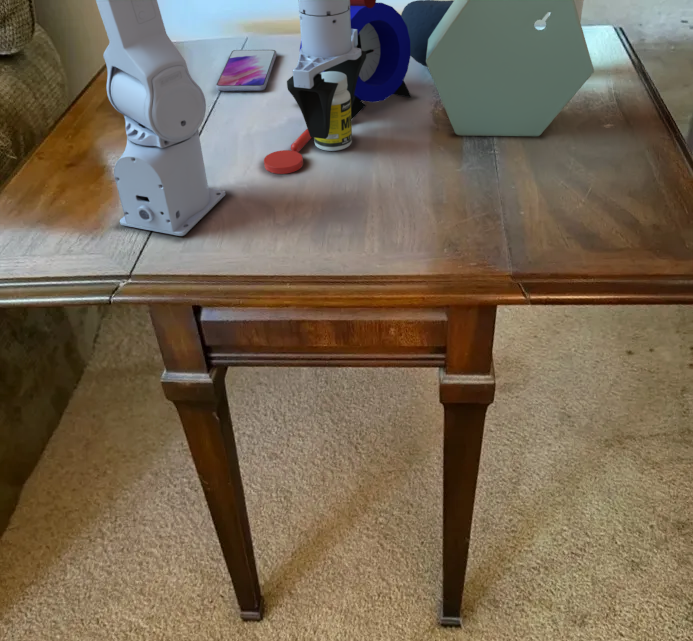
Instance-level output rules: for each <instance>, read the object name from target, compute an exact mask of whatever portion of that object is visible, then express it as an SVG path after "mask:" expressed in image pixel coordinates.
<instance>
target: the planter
mask: <svg viewBox="0 0 693 641" xmlns="http://www.w3.org/2000/svg"><path fill="white" fill-rule="evenodd" d="M453 1H454V2H453V3H452V5H451V6H450V8H449V9H448V11H447V12H446V13H445V15H444V16H443V18H442V19H441V21H440V22H439V24H438V25H437V27H436V28H435V30H434V31H433V33H432V34H431V36H430V37H429V39H428V45H427V54H426V64H427V66H428V67H427V68H428V71H429V74H430V76H431V78H432V81H433V83H434V86H435V88H436V92H437V93H438V95H439V98H440V101H441V102H442V105H443V107H444V110H445V112H446V115H447V117H448V119H449V120H448V121H449V122H450V124H451V127H452V129H453V132H454V134H455V135H457V136H472V137H475V136H477V137H478V136H479V137H540V136H541V135H542V134H543V132H545V130H546V129H547V128H548V127H549V126H550V124H552V122H553V121H554V120H555V119H556V117H557V116H558V115H559V114H560V113H561V112H562V110H563V109H564V108H565V107H566V106H567V105H568V103H569V102H570V101H571V100H572V98H574V96H575V95H576V94H577V93H578V92H579V91H580V89H581V88H582V87H583V86H584V85H585V83H586V82H587V81H588V80H589V79H590V77H591V76H593V74H594V72H595V68H594V65H593V62H592V57H591V54H590V52H589V48H588V44H587V40H586V37H585V34H584V30H583V27H582V23H581V22H580V19H579V16H578V12H577V9H576V5H575V2H574V0H453ZM549 12H551V14H550V15H549ZM547 14H548V16H547ZM546 16H547V18H546V19H545V27H544V28H542V29H538V28H536V26H535V24H536V22H537V21H542V20H543V19H544V18H545V17H546Z"/></svg>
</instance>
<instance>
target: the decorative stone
mask: <svg viewBox="0 0 693 641" xmlns="http://www.w3.org/2000/svg"><path fill="white" fill-rule="evenodd" d="M453 2H454V0H412V1H411V2H408V3H407V4H406V5H405V6H404V8H403V9H402V11H401V14H400V15H401V16H402V18H403V20H404V22H405V24H406V26H407V29H408V33H409V38H410V58H412V59H413V60H414V61H415V62H416V63H418V64H420V65H421V66H424V67H426V68H428V66H427V64H426V54H427V45H428V39H429V37H430V36H431V34H432V33H433V31H434V30H435V28H436V27H437V25H438V24H439V22H440V21H441V19H442V18H443V16H444V15H445V13H446V12H447V11H448V9H449V8H450V6H451V5H452V3H453Z"/></svg>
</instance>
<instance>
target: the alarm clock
mask: <svg viewBox="0 0 693 641" xmlns="http://www.w3.org/2000/svg"><path fill="white" fill-rule="evenodd" d="M350 16H351V17H350V19H351V29H357V36H358V45H357V46H356V47H354V48H360V49H361V50H362V51H365V52H366V59H365V61H364V63H363V66H362V68H361V70H360V73H359V76H358V80H357V84H356V89H355V94H354V100H353V105H352V109H351V121H352V120H353V119H354V118H355V117H356V116H357V115H358V114H360V113H361V111H362V110H364V109H365V107H366V106H367V102H368V103H378V102H382V101H385V100H387V99H388V98H390V97H392V96H393V95H395V96H400V97H407V98H412V95H411V93H410V92H409V89H408V87H407V85H406V83H405V78H406V76H407V73H408V70H409V65H410V62H411V61H410V60H411V56H410V38H409V33H408V29H407V26H406V24H405V22H404V20H403V18H402V16H401V14H400V13H399V12H398V11H397V10H396V9H395V8H394V7H393V6H391V5H390V4H386V3H384V2H377V0H350ZM301 48H302V43H301V42H300V44H299V50H300V49H301ZM323 72H325V70H324V71H323ZM364 102H366V103H364Z"/></svg>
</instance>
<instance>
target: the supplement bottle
mask: <svg viewBox="0 0 693 641" xmlns="http://www.w3.org/2000/svg"><path fill="white" fill-rule="evenodd" d="M321 76H322V79H324V82H332V83H338V86H337V88H336V91H335V93H334V96H333V100H332V105H331V113H330V129H329V134H328V137H327V138H326V139H321V138H314V137H313V140H314V141H313V142H314V145H315V147H316V148H318V149H319V150H323V151H326V152H327V151H328V152H329V151H330V152H331V151H332V152H335V151H341V150H345V149H347V148H349V147H350V146H351V145H352V143H353V129H352V128H353V127H352V126H353V125H352V124H353V123H352V120H351V97H350V93H349V91H348V90H346V89H347V86H348V84H347V76H346V75H345V74H344V73H342V72H337V71H328V72H322V73H321Z"/></svg>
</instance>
